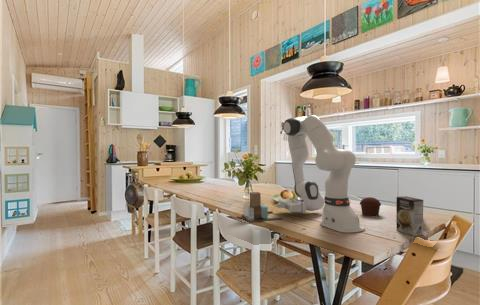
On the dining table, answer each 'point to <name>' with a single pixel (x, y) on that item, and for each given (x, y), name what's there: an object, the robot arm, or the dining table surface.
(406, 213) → the coffee box
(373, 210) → the muffin
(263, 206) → the sliding jaw
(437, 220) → the dining table surface
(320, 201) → the robot arm
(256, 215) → the walnut block
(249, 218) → the vise
